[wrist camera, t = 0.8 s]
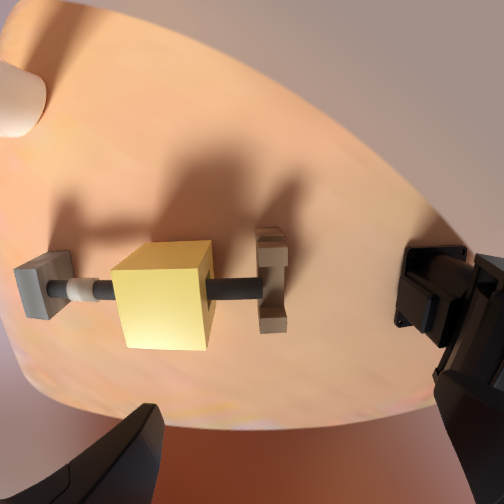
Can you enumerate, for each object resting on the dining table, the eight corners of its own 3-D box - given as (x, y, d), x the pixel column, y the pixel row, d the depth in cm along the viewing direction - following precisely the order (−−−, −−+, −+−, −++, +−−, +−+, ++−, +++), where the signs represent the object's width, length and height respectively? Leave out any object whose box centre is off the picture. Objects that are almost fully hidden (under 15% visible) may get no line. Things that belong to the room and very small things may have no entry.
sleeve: (211, 239, 18) (197, 268, 13) (216, 303, 19) (206, 350, 14) (146, 242, 18) (110, 270, 13) (154, 303, 19) (127, 347, 14)
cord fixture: (279, 227, 18) (289, 243, 14) (279, 306, 20) (287, 340, 16) (45, 239, 18) (10, 255, 14) (59, 305, 20) (30, 329, 16)
